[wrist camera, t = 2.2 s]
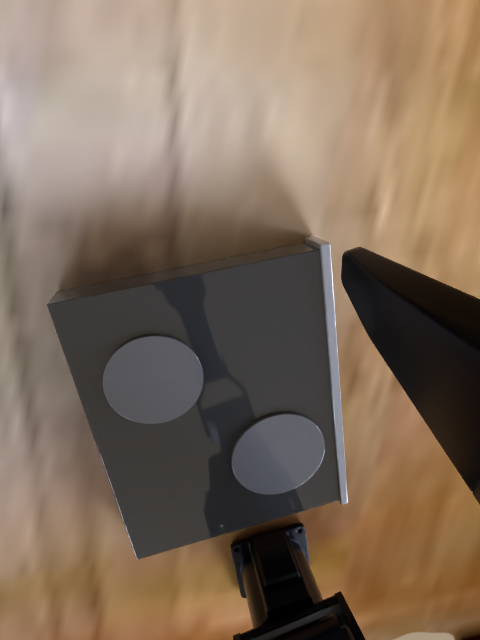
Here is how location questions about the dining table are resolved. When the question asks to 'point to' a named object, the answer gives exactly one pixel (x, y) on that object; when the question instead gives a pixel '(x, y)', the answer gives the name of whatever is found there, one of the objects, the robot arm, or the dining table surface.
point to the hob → (211, 391)
